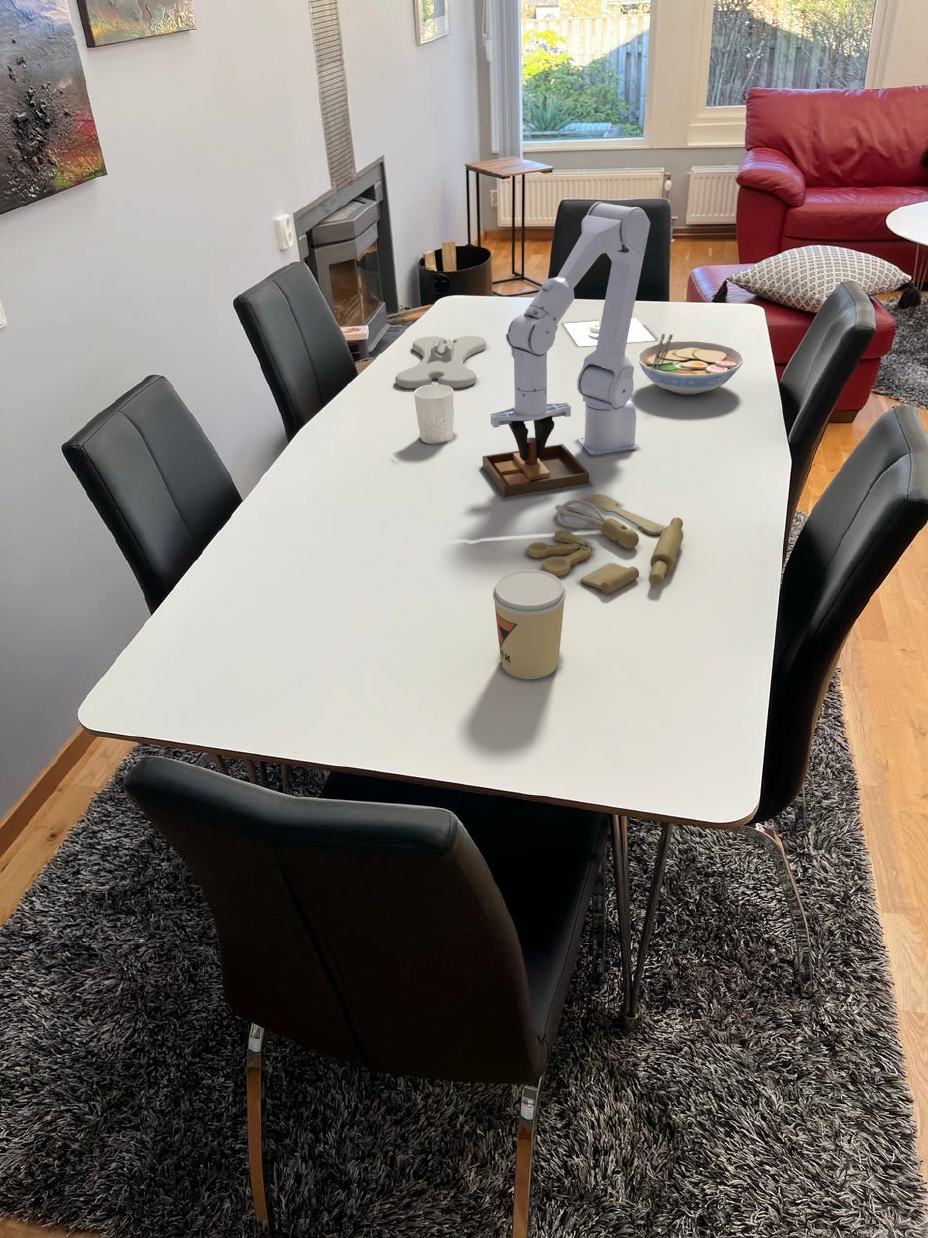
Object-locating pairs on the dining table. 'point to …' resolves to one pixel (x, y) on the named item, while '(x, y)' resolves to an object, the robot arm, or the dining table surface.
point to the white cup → (435, 412)
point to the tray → (554, 458)
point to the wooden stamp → (532, 462)
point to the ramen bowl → (689, 365)
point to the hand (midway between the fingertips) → (531, 457)
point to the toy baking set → (613, 574)
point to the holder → (442, 362)
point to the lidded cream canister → (529, 622)
